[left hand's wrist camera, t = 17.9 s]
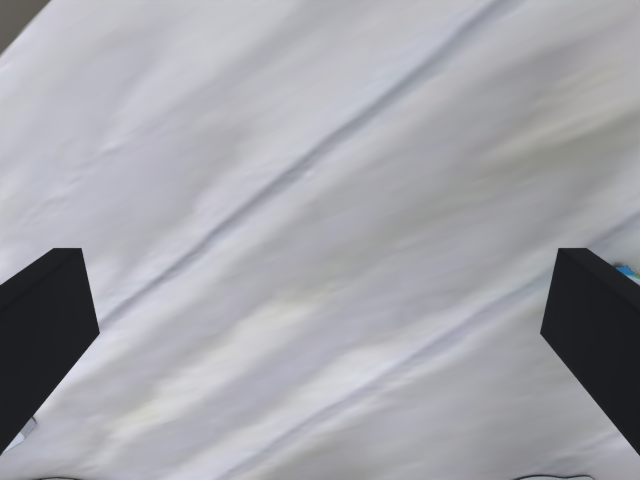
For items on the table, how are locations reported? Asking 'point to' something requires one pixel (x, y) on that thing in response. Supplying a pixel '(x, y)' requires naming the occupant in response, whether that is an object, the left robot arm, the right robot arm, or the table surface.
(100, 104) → the table surface
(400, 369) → the table surface
